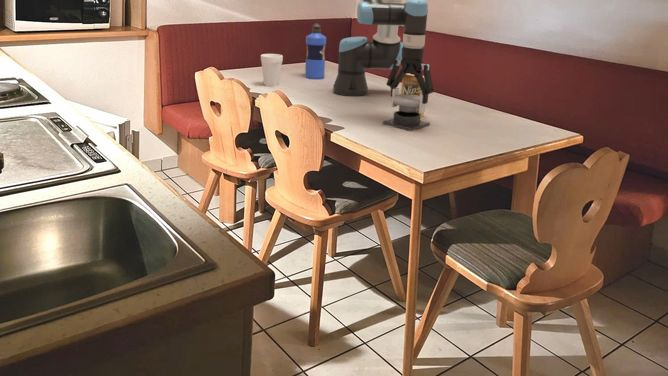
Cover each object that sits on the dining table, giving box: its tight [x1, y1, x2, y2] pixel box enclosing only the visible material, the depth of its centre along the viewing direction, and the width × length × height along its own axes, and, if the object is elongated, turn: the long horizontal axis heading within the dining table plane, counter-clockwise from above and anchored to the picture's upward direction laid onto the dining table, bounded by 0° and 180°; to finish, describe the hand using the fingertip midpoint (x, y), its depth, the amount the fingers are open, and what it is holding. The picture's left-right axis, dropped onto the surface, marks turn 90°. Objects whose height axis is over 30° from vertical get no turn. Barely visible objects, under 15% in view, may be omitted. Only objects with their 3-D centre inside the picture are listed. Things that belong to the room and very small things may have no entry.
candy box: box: [400, 73, 425, 118], centre depth 244 cm, size 9×4×15 cm, turn 50°
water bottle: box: [304, 23, 327, 80], centre depth 303 cm, size 9×9×25 cm
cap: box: [393, 94, 420, 112], centre depth 229 cm, size 11×11×4 cm
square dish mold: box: [382, 110, 431, 132], centre depth 231 cm, size 12×12×4 cm
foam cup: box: [260, 53, 284, 87], centre depth 284 cm, size 10×9×13 cm
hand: (407, 109), depth 230 cm, fingers closed on cap, 11 cm apart
